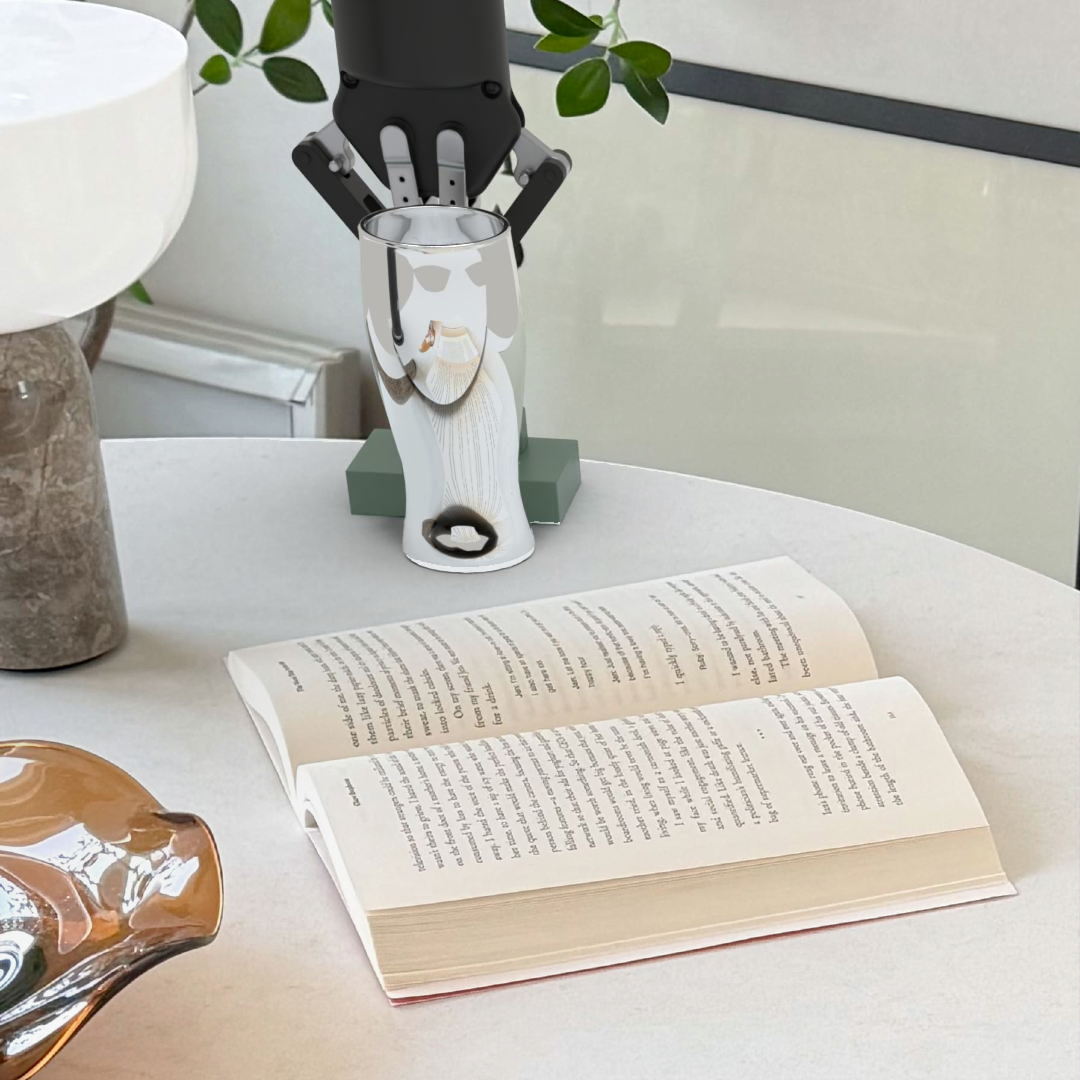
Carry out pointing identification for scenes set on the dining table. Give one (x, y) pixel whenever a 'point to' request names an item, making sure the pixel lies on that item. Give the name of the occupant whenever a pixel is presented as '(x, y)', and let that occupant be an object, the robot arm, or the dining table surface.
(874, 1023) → the dining table surface
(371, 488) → the green block
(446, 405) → the beer glass
